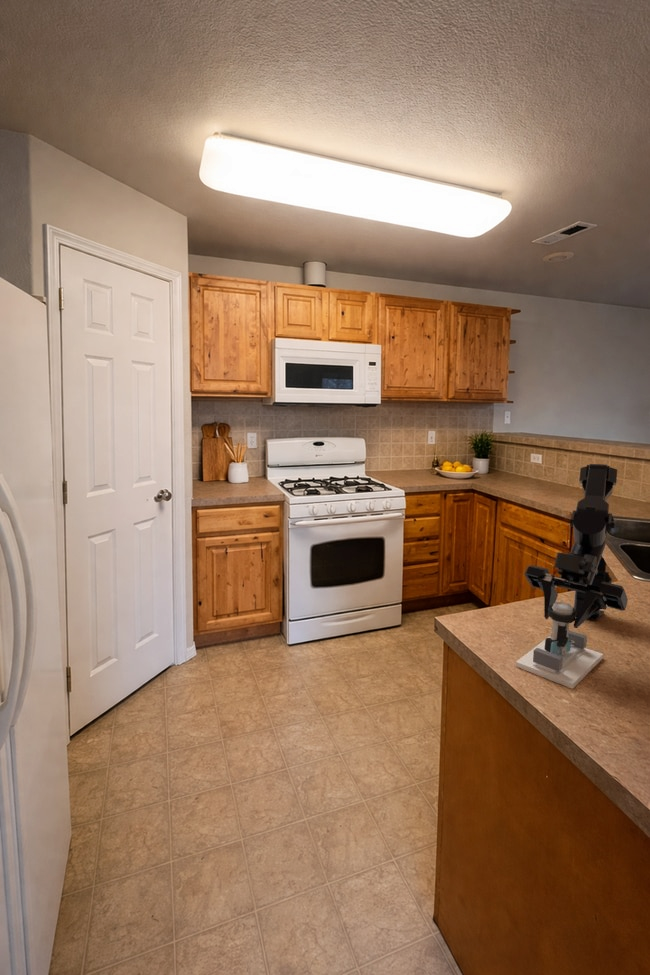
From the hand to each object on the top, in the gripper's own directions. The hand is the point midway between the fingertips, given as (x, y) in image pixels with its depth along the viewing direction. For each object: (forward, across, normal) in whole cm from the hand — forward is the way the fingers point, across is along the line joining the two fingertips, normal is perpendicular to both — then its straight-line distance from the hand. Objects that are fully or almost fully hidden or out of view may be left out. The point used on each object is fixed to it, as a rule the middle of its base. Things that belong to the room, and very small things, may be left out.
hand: (560, 622), depth 96 cm
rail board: (+6, 0, +7) cm, 9 cm away
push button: (+4, 0, +6) cm, 7 cm away
